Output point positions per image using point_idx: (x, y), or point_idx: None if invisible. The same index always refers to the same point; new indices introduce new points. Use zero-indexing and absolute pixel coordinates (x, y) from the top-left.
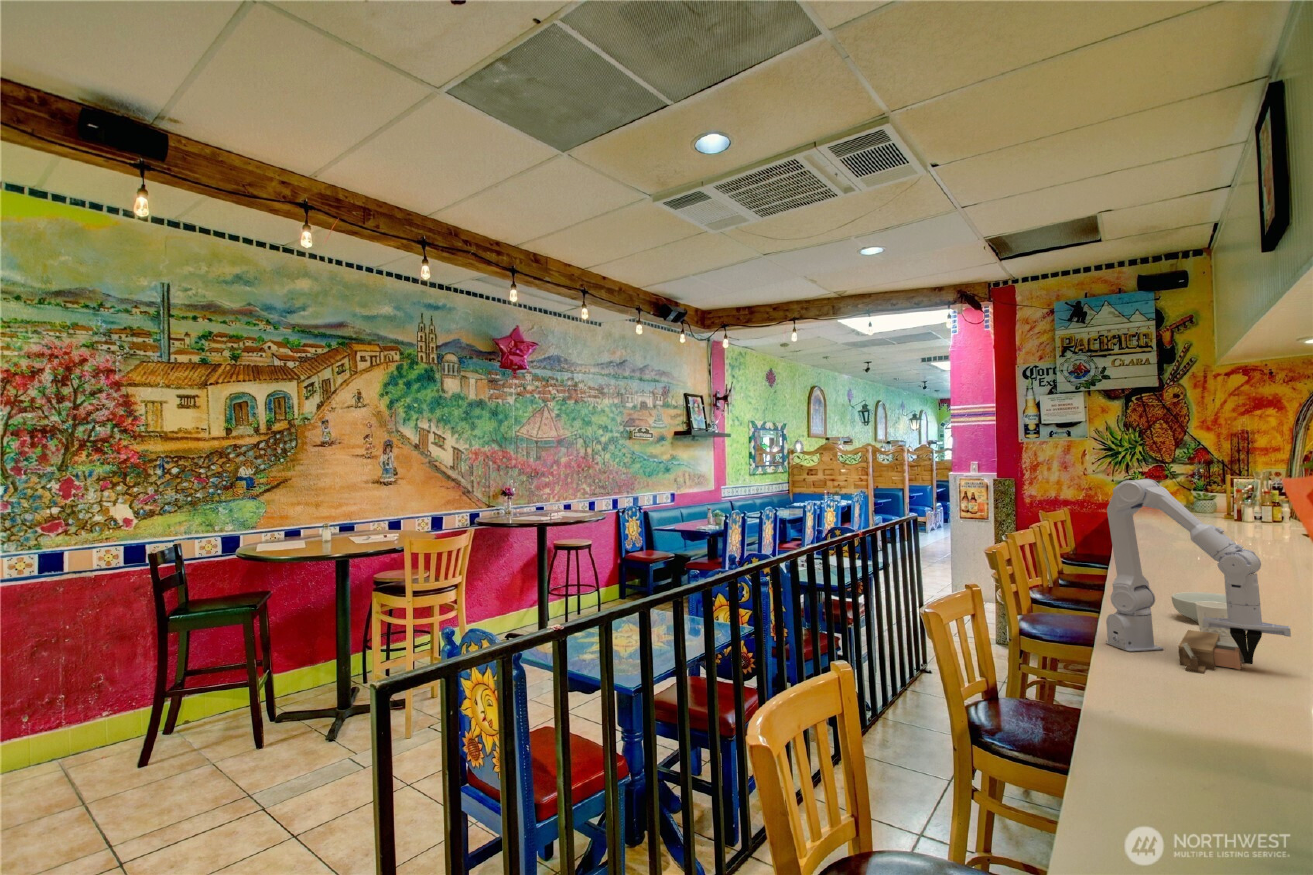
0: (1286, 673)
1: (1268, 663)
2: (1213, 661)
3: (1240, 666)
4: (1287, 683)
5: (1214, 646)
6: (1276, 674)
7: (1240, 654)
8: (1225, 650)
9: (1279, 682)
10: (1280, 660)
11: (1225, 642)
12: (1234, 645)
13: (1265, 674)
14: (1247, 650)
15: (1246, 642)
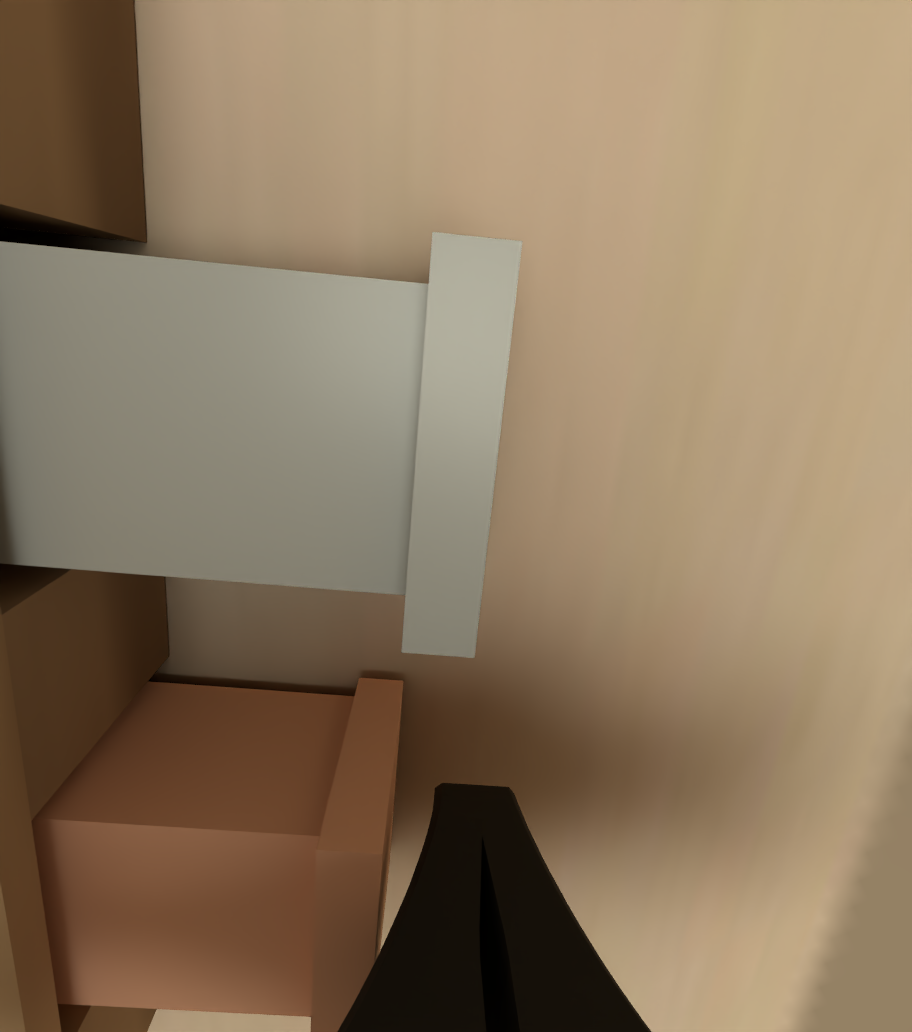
0: (779, 718)
1: (696, 357)
2: (142, 1012)
3: (389, 852)
4: (704, 1012)
5: (31, 966)
6: (680, 800)
7: (388, 820)
8: (198, 881)
9: (651, 1015)
10: (895, 50)
11: (119, 253)
12: (293, 465)
13: (586, 848)
14: (478, 901)
15: (484, 1028)
